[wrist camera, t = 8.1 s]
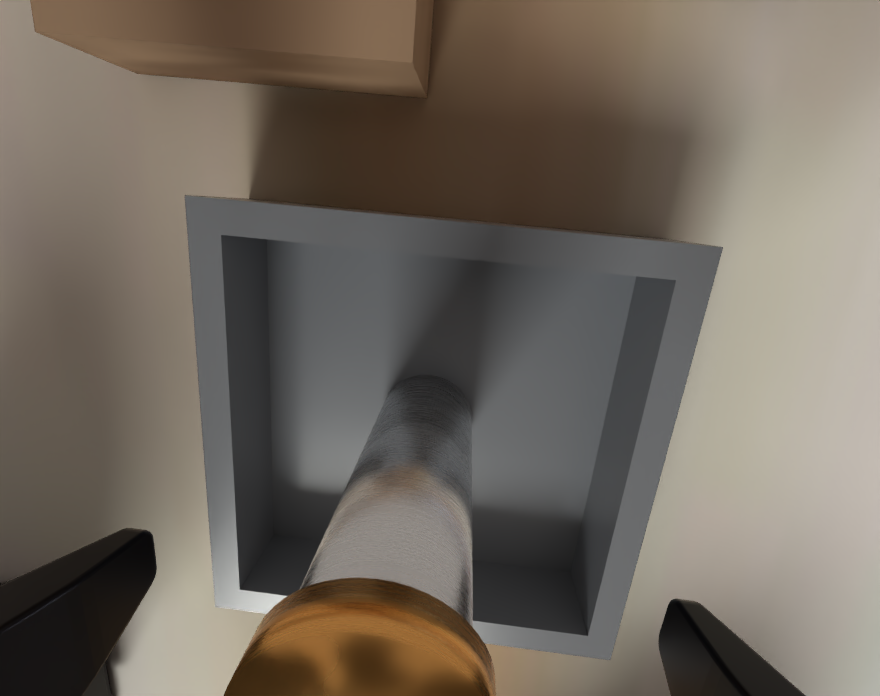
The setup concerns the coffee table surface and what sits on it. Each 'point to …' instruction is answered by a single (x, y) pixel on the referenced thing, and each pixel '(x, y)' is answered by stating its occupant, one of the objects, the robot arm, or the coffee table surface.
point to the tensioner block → (255, 40)
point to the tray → (457, 360)
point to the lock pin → (387, 570)
